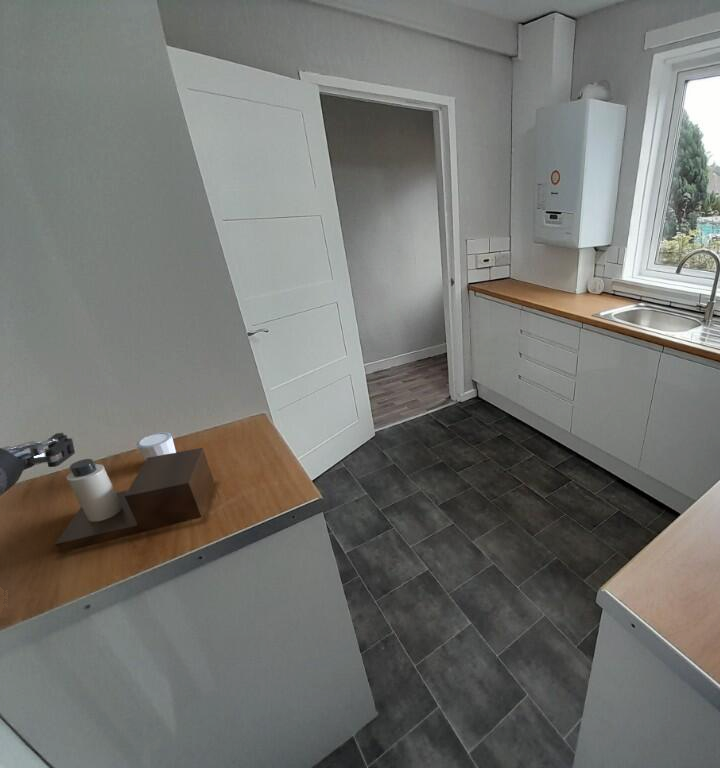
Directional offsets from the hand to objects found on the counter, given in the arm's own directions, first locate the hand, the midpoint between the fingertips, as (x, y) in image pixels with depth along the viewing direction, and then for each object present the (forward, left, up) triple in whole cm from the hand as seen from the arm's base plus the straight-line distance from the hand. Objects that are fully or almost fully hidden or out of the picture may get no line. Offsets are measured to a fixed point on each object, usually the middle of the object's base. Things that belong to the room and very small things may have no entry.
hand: (24, 442), depth 66 cm
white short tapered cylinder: (+5, +31, -25) cm, 40 cm away
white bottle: (+1, +9, -22) cm, 24 cm away
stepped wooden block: (+7, +9, -25) cm, 27 cm away
